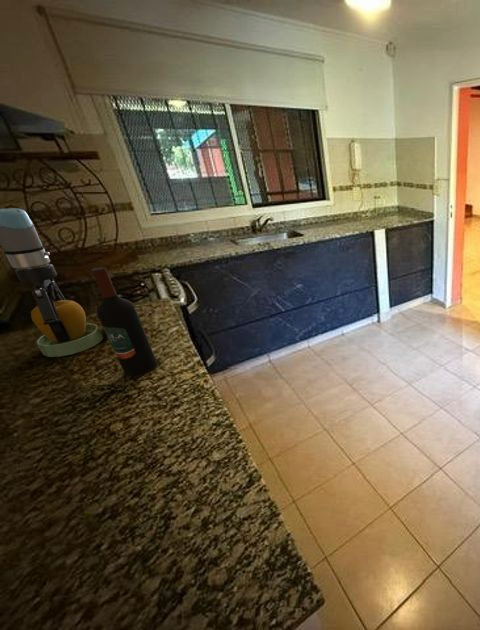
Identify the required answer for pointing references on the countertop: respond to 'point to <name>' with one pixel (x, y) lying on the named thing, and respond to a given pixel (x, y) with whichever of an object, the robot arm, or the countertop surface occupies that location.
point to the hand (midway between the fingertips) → (68, 333)
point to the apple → (63, 320)
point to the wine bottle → (123, 328)
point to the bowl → (71, 343)
